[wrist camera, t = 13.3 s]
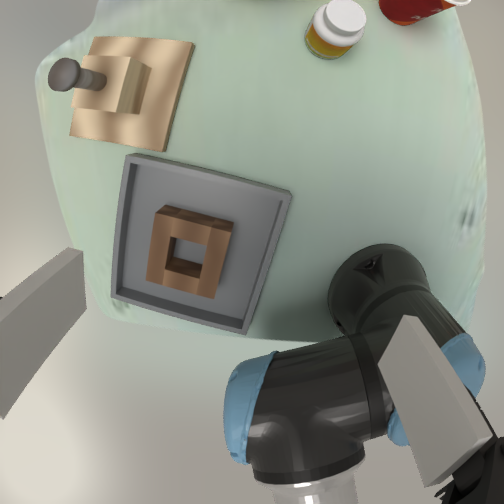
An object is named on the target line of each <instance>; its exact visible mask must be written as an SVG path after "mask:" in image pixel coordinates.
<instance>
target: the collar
mask: <svg viewBox="0 0 504 504" xmlns="http://www.w3.org/2000/svg"><path fill="white" fill-rule="evenodd" d="M233 225H234V222H231V221H227V220H224V219H220V218H216V217H212V216H208V215H205V214H201V213H197V212H193V211H189V210H185V209H181V208H177V207H173V206H169V205H164V206H163V207H162V208H160V209H159V210H158V211H157V212H155V217H154V223H153V229H152V235H151V242H150V249H149V256H148V264H147V272H146V281H149V282H152V283H156V284H159V285H163V286H166V287H170V288H173V289H177V290H181V291H184V292H188V293H192V294H195V295H199V296H203V297H207V298H210V299H214V297H215V294H216V290H217V286H218V282H219V278H220V274H221V270H222V266H223V262H224V259H225V255H226V251H227V247H228V243H229V240H230V236H231V232H232V228H233ZM176 238H179V239H183V240H187V241H190V242H194V243H198V244H202V245H205V246H207V248H206V252H205V257H204V261H203V264H199V263H196V262H192V261H188V260H184V259H181V258H177V257H173V255H174V249H175V244H176Z"/></svg>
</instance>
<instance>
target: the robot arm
mask: <svg viewBox="0 0 504 504" xmlns="http://www.w3.org/2000/svg"><path fill="white" fill-rule="evenodd" d="M328 305H329V309H330V313H331V315H332V318H333V321H334V323H335V324H336V326H337V327H338V329H339V330H340V331H341V332H342V333H343V334H344V335H345V336H343V337H339V338H335V339H332V340H328V341H324V342H320V343H316V344H312V345H309V346H304V347H300V348H296V349H292V350H287V351H283V352H279V351H273V352H271V353H270V354H268V355H265V356H261V357H257V358H253V359H249V360H246V361H243V362H241V363H240V364H239V365H238V366H236V368H235V369H234V370H233V372H232V374H231V376H230V378H229V381H228V385H227V388H226V393H225V399H224V413H223V414H224V415H223V416H224V417H223V419H224V433H225V440H226V444H227V448H228V450H229V451H230V453H231V457H232V458H233V459H234V461H236V462H237V463H242V464H244V465H246V464H250V463H251V465H252V468H253V473H254V478H255V480H256V482H257V483H259V484H260V485H262V486H264V487H266V488H268V489H270V490H271V491H272V492H273V496H274V501H275V504H358V500H357V493H356V486H355V480H354V473H355V472H356V470H357V469H358V468H359V467H360V465H361V464H362V463H363V462H364V460H365V451H364V446H363V442H364V441H367V440H369V439H373V438H376V437H379V436H383V435H386V434H387V435H388V438H389V439H390V440H391V441H393V443H394V444H396V445H399V446H406V445H410V447H411V450H412V452H413V455H414V458H415V461H416V464H417V467H418V469H419V473H420V475H421V479H422V481H423V484H424V487H429V486H432V485H436V484H440V483H441V482H443V481H444V480H445V479H446V478H448V477H449V476H450V475H451V474H452V476H453V478H454V480H452V481H451V482H450V483H449V484H447V485H446V486H445V487H443V488H442V489H441V490H439V491H438V492H437V493H436V495H435V496H434V497H437V496H439V495H441V494H442V493H443V492H445V494H444V495H443V496H442V497H441V498H440V499H441V500H443V501H442V504H504V437H500V438H499V439H498V437H497V436H496V434H495V432H494V430H493V428H492V427H491V425H490V423H489V421H488V419H487V418H486V416H485V414H484V412H483V411H482V410H480V408H481V407H480V406H479V404H478V402H476V399H475V398H476V396H477V395H478V393H479V391H480V389H481V386H482V384H483V381H484V377H485V361H484V359H483V357H482V355H481V353H480V352H479V350H478V348H477V347H476V345H475V344H474V342H473V339H472V337H471V336H470V335H469V334H467V333H466V332H465V331H464V330H463V328H462V327H461V326H460V325H459V324H458V323H457V321H456V320H455V319H454V318H453V317H452V316H451V315H450V313H449V312H448V311H447V310H446V309H445V308H444V307H443V305H442V304H441V303H440V302H439V301H438V300H437V299H436V298H435V297H434V295H433V294H432V293H431V291H430V287H429V284H428V281H427V279H426V274H425V271H424V269H423V267H422V265H421V264H420V262H419V261H418V260H417V259H416V258H415V257H414V256H413V255H412V254H411V253H410V252H408V251H407V250H405V249H404V248H402V247H399V246H396V245H392V244H379V245H373V246H370V247H367V248H365V249H362V250H360V251H359V252H357V253H355V254H354V255H352V256H351V257H350V258H349V259H348V260H346V261H345V262H344V263H343V265H342V266H341V267H340V268H339V270H338V271H337V272H336V274H335V276H334V278H333V280H332V282H331V285H330V288H329V293H328ZM86 309H87V308H86V297H85V283H84V263H83V251H81V250H77V249H73V248H69V247H68V248H67V249H65V250H64V251H62V252H61V253H59V254H58V255H57V256H55V257H54V258H53V259H51V260H50V261H49V262H47V263H46V264H45V265H43V266H42V267H41V268H39V269H38V270H37V271H35V272H34V273H33V274H32V275H30V276H29V277H28V278H26V279H25V280H24V281H23V282H21V283H20V284H19V285H18V286H16V287H15V288H14V289H13V290H11V291H10V292H9V293H8V294H7V295H5V296H4V297H0V418H2V419H4V418H5V416H6V415H7V413H8V412H9V410H10V409H11V407H12V406H13V404H14V403H15V402H16V400H17V399H18V397H19V396H20V394H21V393H22V391H23V390H24V388H25V387H26V386H27V384H28V383H29V382H30V380H31V379H32V377H33V376H34V374H35V373H36V372H37V371H38V369H39V368H40V367H41V365H42V364H43V363H44V361H45V360H46V359H47V357H48V356H49V355H50V354H51V352H52V351H53V350H54V348H55V347H56V346H57V345H58V343H59V342H60V341H61V339H62V338H63V337H64V336H65V334H66V333H67V332H68V331H69V330H70V328H71V327H72V326H73V325H74V323H75V322H76V321H77V320H78V319H79V318H80V316H81V315H82V314H83V313H84V312H85V310H86Z"/></svg>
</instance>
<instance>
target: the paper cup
mask: <svg viewBox="0 0 504 504" xmlns="http://www.w3.org/2000/svg"><path fill="white" fill-rule="evenodd" d="M470 1H471V0H379V6H380V9H381V11H382V13H383V14H384V15H385V16H386V17H387V18H388V19H389V20H390V21H392V22H394V23H396V24H398V25H410V24H412V23H415V22H417V21H420V20H422V19H424V18H426V17H429V16H431V15H434V14H436V13H438V12H441V11H443V10H446V9H448V8H451V7H453V6H456V5H459V6H462V5H466V4H468V3H470Z"/></svg>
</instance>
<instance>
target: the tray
mask: <svg viewBox="0 0 504 504" xmlns="http://www.w3.org/2000/svg"><path fill="white" fill-rule="evenodd" d="M291 198H292V195H291V193H290V191H287V190H284V189H280V188H277V187H273V186H270V185H266V184H263V183H259V182H255V181H252V180H248V179H244V178H241V177H237V176H233V175H229V174H225V173H221V172H217V171H213V170H209V169H205V168H201V167H197V166H193V165H188V164H184V163H180V162H175V161H171V160H166V159H162V158H157V157H152V156H148V155H143V154H138V153H133V154H129V155H126V157H125V163H124V168H123V174H122V180H121V187H120V194H119V201H118V209H117V217H116V226H115V236H114V247H113V260H112V276H111V298H114V299H117V300H121V301H124V302H127V303H130V304H133V305H136V306H139V307H143V308H146V309H149V310H153V311H156V312H159V313H163V314H166V315H170V316H173V317H177V318H180V319H184V320H187V321H191V322H195V323H199V324H202V325H206V326H210V327H214V328H218V329H222V330H226V331H230V332H234V333H239V334H243V335H246V334H247V331H248V328H249V325H250V322H251V319H252V316H253V313H254V310H255V307H256V304H257V301H258V298H259V295H260V293H261V290H262V287H263V284H264V281H265V278H266V275H267V272H268V269H269V266H270V263H271V259H272V256H273V253H274V250H275V247H276V244H277V241H278V238H279V235H280V232H281V229H282V226H283V223H284V220H285V216H286V213H287V210H288V207H289V204H290V201H291ZM164 205H169V206H173V207H177V208H181V209H185V210H189V211H193V212H197V213H201V214H205V215H208V216H212V217H216V218H220V219H224V220H227V221H231V222H234V225H233V228H232V232H231V236H230V240H229V243H228V247H227V251H226V255H225V259H224V262H223V266H222V270H221V274H220V278H219V282H218V286H217V290H216V294H215V297H214V299H210V298H207V297H203V296H199V295H195V294H192V293H188V292H184V291H181V290H177V289H173V288H170V287H166V286H163V285H159V284H156V283H152V282H149V281H146V272H147V264H148V256H149V249H150V242H151V235H152V229H153V223H154V217H155V212H157V211H158V210H159V209H160V208H162V207H163V206H164ZM206 248H207V246H205V245H202V244H198V243H194V242H190V241H187V240H183V239H179V238H176V244H175V249H174V255H173V257H177V258H181V259H184V260H188V261H192V262H196V263H199V264H203V261H204V257H205V252H206Z"/></svg>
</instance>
